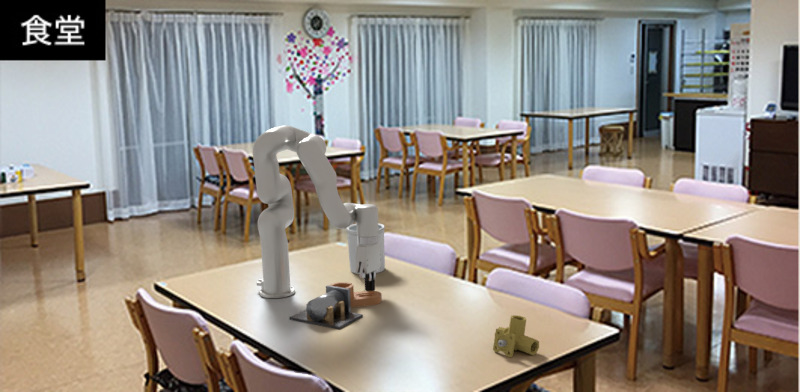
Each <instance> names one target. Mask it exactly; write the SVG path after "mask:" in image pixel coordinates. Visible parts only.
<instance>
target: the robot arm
mask: <svg viewBox="0 0 800 392" xmlns="http://www.w3.org/2000/svg"><path fill="white" fill-rule="evenodd" d="M252 146H253V147H252V158H253V165H254V175H255V176H254V177H255V178H254V179H255V184H256V193H257V197H258V199H259V200H260V202H262V203H263V204H267V205H268V207H267V208H265V209H264V210H263V211H261V213H260V214H259V216H258V219H257V230H258V235H259V242H260V248H261V249H260V250H261V251H260V252H261V266H262V267H261V268H262V278H259V279H258V281H257V282H256V286H259V287H261V289H260V290H259V295H260V296H261V297H263V298H266V299H282V298H287V297H290V296H292V295H294V294H295V292H296V289H295V287H294V286H292V285H291V273H290V258H289V257H290V256H289V255H290V254H289V244H288V243H289V242H288V237H287V233H286V229H287V228H288V227H289V226H291V225H292V224H293V221H294V219H295V208H294V199H293V191H292V189H293V188H292V185H291V182H290V180H289V179H288V177H287V176H286V175H284V174H282V173H280V164H279V161H278V158H277V154H279V153H281V152H283V151H287V150H288V151H291V152H294V153H295V154H296V155H297V158H298V159H299V161H300V162H301V164H302V166H303V168H304V169H305V171H306V172H307V174H308V177H309V178H310V180H311V182H312V184H313V185H314V187H315V188H314V189H315V192H316V195H317V198H318V202H319V205H320V207H321V208H322V211H323V213H324V214H325V216H326V217H327V219H328V221H329V223H330V224H331V225H332V226H333V227H334V228H336V229H337V230H346V229H347V227H349V226H350V225H352V224H357V244H358V245H357V247H356V257H355V270H356V272H357V273H359V272H360V274H358V275H359V278H361V279H363V281H364V291H376V277H377V276H376V275H377V274H378V273H377V272H378V271H379V268H380V267H381V253H380V246H379V230H378V223H379V210H378V207H377V205H376V204H372V203H363V204H359V203H353V202H344V203H343V200H342V199H341V196H340V194H339V191H338V187H337V186H338V185H337V184H338V183H337V180H338V179H337V173H336V171H335V169H334V167H333V166H332V164H331V162H330V161H329V159H328V157H327V156H326V152H327V144H326V141H325V140H324V139H323V137H320V135H317V134H314V133H311V132H309V131H306V130H303V129H300V128H298V127H295V126H291V125H280V126H275V127H273V128H270V129H268V130H265V131H264V132H263V133H261V134H260V135H259V136H257V138H256V140H255V141H254V143H253V145H252Z"/></svg>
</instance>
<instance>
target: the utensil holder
mask: <svg viewBox="0 0 800 392" xmlns="http://www.w3.org/2000/svg"><path fill="white" fill-rule="evenodd" d="M378 230H379V246H380V253H381V267H380V268H379V271H378V272H377V273H376V274H379V273H381V272H383V271H385V267H386V264H385V263H386V259H385V255H386V252H385V230H386V229H385V224H382V223H379V222H378ZM346 234H347V245H348V258H349V260H348V261H349V270H350V272H351V273H352V274H357V275H360V272H359V273H357V272H356V270H355V257H356V247H357V245H358V244H357V223H353V224H351V225H350V226H349V227H347V228H346Z"/></svg>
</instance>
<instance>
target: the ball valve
mask: <svg viewBox="0 0 800 392" xmlns="http://www.w3.org/2000/svg"><path fill="white" fill-rule="evenodd" d="M526 324H527V317H526V316H525V317H524V316H521V315H515V314H513V315H510V319H509V326H507V327H502V326H498V327H497V328H495V332H494V340H493V347H492V348H493V349H492V350H493V351H494V353H499V352H503V353H504V355H505V356H506V357H508V358H512V357H513V356H514V351H520V352H523V353H526V354H528V355H531V356H535V354H537V352H538V351H539V349H540V341H539V340H538V339H536V338H533V337H530V336H528V335H525V332H526V327H527V325H526Z"/></svg>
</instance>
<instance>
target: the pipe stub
mask: <svg viewBox="0 0 800 392" xmlns="http://www.w3.org/2000/svg"><path fill="white" fill-rule="evenodd" d="M329 285H330V284H328V285H326V286H325V293H324V294H321V295H319V296H317V297H315V298H313V299H311V300H309V301H308V302H307V303H306V304H305V305H306V308H305V309H304V310H301V311H299V312H298V313H295V314H293V315H290V316H289V317H288V319H289V320H291V321H297V322H300V323H306V324H311V325H315V326H321V327H326V328H332V329H337V330H341V329H343V328H344V327H346V326H348V325H350V324H352V323H354V322H356V321H357V320H359V319H361V318H363V316H364V314H363V313H356V312H352V307H351V302H350V289H348V288H342V287H335V286H329Z"/></svg>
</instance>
